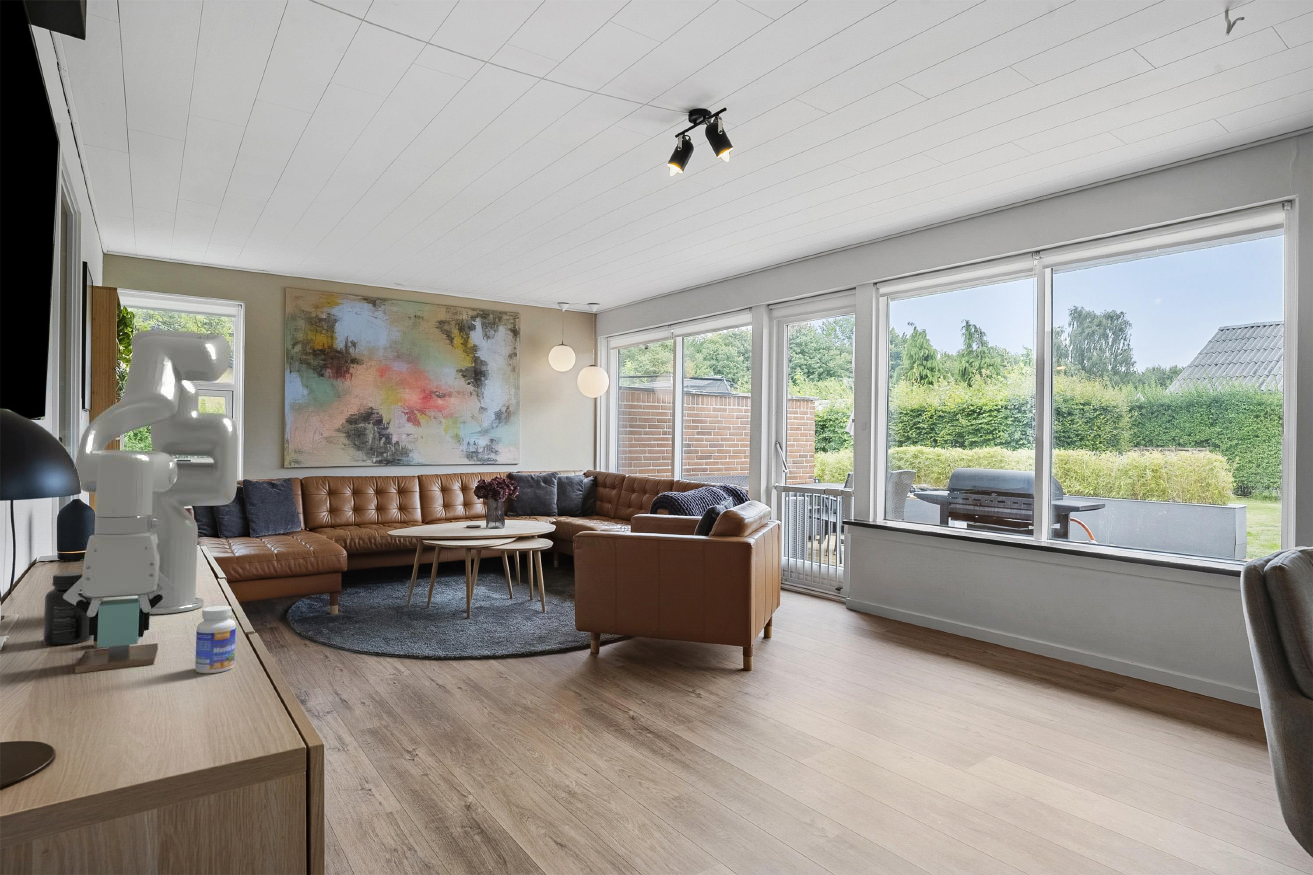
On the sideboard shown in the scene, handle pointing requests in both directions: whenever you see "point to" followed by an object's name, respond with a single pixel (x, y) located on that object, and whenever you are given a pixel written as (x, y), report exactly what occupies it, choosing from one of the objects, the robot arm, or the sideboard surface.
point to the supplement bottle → (64, 613)
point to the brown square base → (117, 657)
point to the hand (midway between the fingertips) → (119, 636)
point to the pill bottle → (215, 640)
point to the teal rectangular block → (118, 622)
